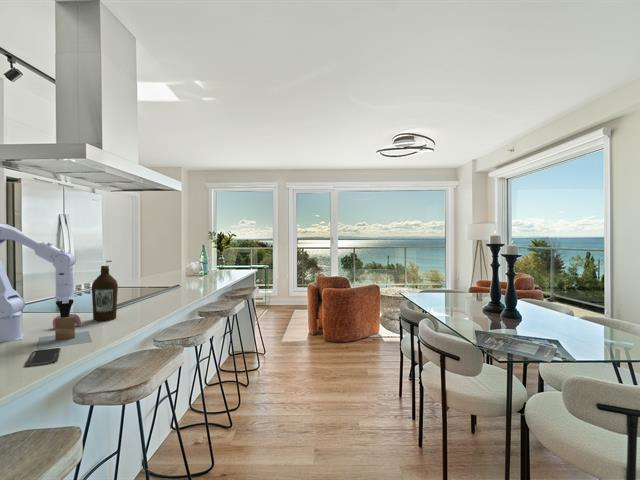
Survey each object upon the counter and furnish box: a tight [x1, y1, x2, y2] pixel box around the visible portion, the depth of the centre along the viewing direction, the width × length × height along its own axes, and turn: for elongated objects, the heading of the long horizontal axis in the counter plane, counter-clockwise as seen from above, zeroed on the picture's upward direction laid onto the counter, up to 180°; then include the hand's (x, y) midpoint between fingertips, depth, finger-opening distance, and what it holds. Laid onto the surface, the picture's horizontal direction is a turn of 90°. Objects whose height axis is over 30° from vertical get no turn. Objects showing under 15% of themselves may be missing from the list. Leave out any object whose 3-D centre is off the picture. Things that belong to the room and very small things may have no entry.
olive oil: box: [91, 265, 119, 322], centre depth 173 cm, size 11×11×25 cm
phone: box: [25, 347, 62, 368], centre depth 120 cm, size 8×1×15 cm
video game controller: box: [52, 313, 82, 331], centre depth 157 cm, size 10×5×7 cm, turn 135°
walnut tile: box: [54, 316, 76, 341], centre depth 139 cm, size 2×6×8 cm, turn 126°
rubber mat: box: [37, 330, 93, 350], centre depth 139 cm, size 18×16×1 cm
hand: (64, 319), depth 143 cm, fingers closed
